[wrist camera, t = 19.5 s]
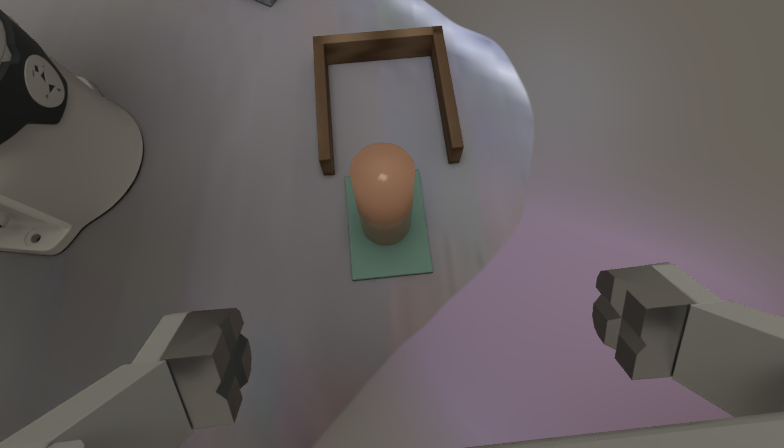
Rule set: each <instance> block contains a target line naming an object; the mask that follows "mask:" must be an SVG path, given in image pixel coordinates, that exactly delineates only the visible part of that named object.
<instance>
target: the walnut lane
mask: <svg viewBox="0 0 784 448" xmlns="http://www.w3.org/2000/svg"><path fill="white" fill-rule="evenodd" d="M313 49H314V69H315V89H316V109H317V129H318V149H319V162H320V164H321V167H322V170H323V173H324V175H333V174H335V172H334V156H333V141H332V125H331V109H330V93H329V77H328V65H329V64H340V63H352V62H363V61H375V60H386V59H398V58H409V57H421V56H431V60H432V66H433V72H434V78H435V84H436V90H437V96H438V102H439V108H440V114H441V120H442V126H443V132H444V138H445V144H446V150H447V156H448V162H449V164H450V163H459V161H460V158H461V154H462V151H463V147H464V146H463V140H462V135H461V129H460V124H459V118H458V113H457V107H456V102H455V96H454V91H453V85H452V80H451V74H450V69H449V63H448V58H447V52H446V47H445V41H444V36H443V30H442V26H433V27H422V28H410V29H398V30H386V31H374V32H363V33H351V34H339V35H327V36H316V37H313Z"/></svg>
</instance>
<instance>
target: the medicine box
mask: <svg viewBox="0 0 784 448" xmlns="http://www.w3.org/2000/svg"><path fill="white" fill-rule="evenodd" d="M257 1H259V2H261V3H263V4H266V5H268V6H271V5H272V4H273V3H274V2H275V0H257Z"/></svg>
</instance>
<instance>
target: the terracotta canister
mask: <svg viewBox="0 0 784 448" xmlns="http://www.w3.org/2000/svg"><path fill="white" fill-rule="evenodd" d="M350 177H351V182H352V186H353V191H354V195H355V199H356V204H357V208H358V213H359V217H360V221H361V226H362V229H363V232H364V234H365V235H366V237H367V238H368V239H369V240H371V241H372V242H374V243H376V244H379V245H393V244H396V243H398V242H400V241H401V240H403V239H404V238H405V237H406V235H407V234H408V232H409V230H410V226H411V216H412V204H413V192H414V180H415V166H414V163H413V160H412V158H411V157H410V155H409V154H408V153H407V152H406V151H405V150H404V149H402V148H401V147H399V146H397V145H394V144H391V143H375V144H372V145H369V146H367V147H365V148H363V149H362V150H361V151H360V152H359V153H358V154H357V155H356V156H355V157H354V159H353V161H352V164H351V167H350Z"/></svg>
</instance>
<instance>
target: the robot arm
mask: <svg viewBox="0 0 784 448" xmlns="http://www.w3.org/2000/svg"><path fill="white" fill-rule="evenodd" d="M142 154H143V142H142V136H141V133H140V130H139V127H138V125H137V123H136V122H135V120H134V119H133V118H132V117H131V115H130V114H129V113H127V112H126V111H125V110H124V109H122V108H121V107H119V106H117V105H116V104H114V103H112V102H110V101H109V100H107V99H106V98H104V97H103V96H101V95H100V93H99V92H98V90H97V89H96V88H95V87H94V85H93V84H91V83H90V82H89V81H88V80H86V79H85V78H83V77H81V76H75V75H74V74H72V73H71V72H70V71H68V70H67V69H66V68H65V67H63V66H62V65H61V64H59V63H58V62H57V61H56V60H54V59H53V58H52V57H50V56H49V55H48V54H47V53H45V52H44V51H43V49H42V48H41V47H40V46H39V45H38V43H36V42H35V41H34V40H33V39H32V38H31V37H30V36H29V35H28V34H27V33H26V32H25V31H24V30H23V29H22V28H21V27H19V24H18V23H17V22H15V21H14V20H13V19H12V18H11V17H9V16H8V15H6V14H5V13H4V12H3V11H1V10H0V251H7V252H18V253H29V254H40V255H55V254H58V253H60V252H61V251H62V250H64V249H65V248H66V247H67V246H68V245H69V244H70V242H71V241H72V240H73V239H74V238H75V236H76V235H77V234H78V233H79V231H80V230H81V229H82V228H83V227H84V226H85V225H87V224H88V223H89V222H91V221H92V220H94V219H95V218H97V217H98V216H100V215H101V214H103V213H104V212H106V211H107V210H108V209H110V208H111V207H112V206H113V205H114V204H115V203H116V202H117V201H118V200H119V199H120V198H121V197H122V196H123V195H124V194H125V192H126V191H127V190H128V188H129V187H130V186H131V184H132V182H133V181H134V179H135V177H136V175H137V172H138V170H139V167H140V164H141V160H142ZM40 237H41V238H40ZM39 238H40V240H39V241H38V242H37V240H38V239H39ZM596 288H597V289H598V291H599V292H600V293H601V295H600V296H599V298H598V299H597V300H596V301H595V302H594V304H593V313H592V317H593V322H594V328H595V330H596V332H597V334H598V336H599V338H600V339H601V340H602V342H603V343H604V344H605V345H607V346H609V347H611V348H613V349H615V350H616V353H615V359H616V360H617V362H618V363H619V364H620V365H621V367H622V368H623V369H624V371H625V372H626V373H627V374H628V376H629V377H630V378H631V380H640V379H652V378H664V377H672V379H673V380H675V381H677V382H678V383H680V384H682V385H683V386H685V387H686V388H688V389H690V390H691V391H693V392H695V393H696V394H698V395H699V396H701V397H703V398H705V399H706V400H708V401H710V402H711V403H713V404H714V405H716V406H718V407H719V408H721V409H722V410H724V411H726V412H727V413H729V414H730V415H732V416H734V417H733V418H725V419H717V420H707V421H698V422H689V423H680V424H671V425H662V426H653V427H644V428H635V429H626V430H617V431H609V432H600V433H591V434H582V435H573V436H565V437H555V438H546V439H537V440H528V441H520V442H512V443H502V444H494V445H485V446H477V447H467V448H784V318H782V317H779V316H776V315H772V314H769V313H766V312H763V311H760V310H757V309H754V308H751V307H748V306H745V305H742V304H739V303H736V302H733V301H722V300H720V299H719V298H718V297H717V296H715V295H714V294H713V293H711V292H710V291H709V290H707V289H706V288H704V287H703V286H702V285H701V284H699V283H698V282H697V281H695V280H694V279H693V278H691V277H690V276H689V275H687V274H686V273H684V272H683V271H682V270H681V269H679V268H678V267H677V266H676V265H674V264H671V263H668V262H665V263H657V264H650V265H644V266H638V267H629V268H621V269H613V270H605V271H600V273H599V275H598V277H597V282H596ZM243 324H244V323H243V320H242V316H241V313H240V311H239V310H238V309H237V308H227V309H215V310H203V311H192V312H180V313H171V314H167V315H165V316H163V318H162V319H161V321H160V322H159V323H158V325H157V326H156V328H155V329H154V331H153V332H152V334H151V335H150V337H149V338H148V340H147V341H146V342H145V344H144V345H143V347H142V348H141V350H140V351H139V353H138V354H137V356H136V357H135V359H134V360H133V361H132V363H131V364H125V365H122V366H120V367H119V368H117V369H116V370H114V371H113V372H111V373H109V374H108V375H106V376H105V377H103V378H101V379H100V380H98V381H97V382H95V383H94V384H92V385H90V386H89V387H87V388H86V389H84V390H83V391H81V392H79V393H78V394H76V395H75V396H73V397H71V398H70V399H68V400H67V401H65V402H64V403H62V404H60V405H59V406H57V407H56V408H54V409H53V410H51V411H49V412H48V413H46V414H45V415H43V416H41V417H40V418H38V419H37V420H35V421H34V422H32V423H30V424H29V425H27V426H26V427H24V428H23V429H21V430H19V431H18V432H16V433H15V434H13V435H12V436H10V437H8V438H7V439H5V440H4V441H2V442H0V448H178V447H179V446H180V445H181V444H182V443H183V442H184V440H185V439H186V438H187V437H188V436H189V435H190V434H191V433H192V430H194V429H201V428H208V427H215V426H222V425H230V424H234V423H235V420H236V417H237V414H238V411H239V408H240V405H241V402H242V395H241V391H240V389H241V388H242V387H243V386H244V385H245V384H246V383H247V382H248V379H249V376H250V372H251V360H252V358H251V349H250V345H249V341H248V339H247V338H245V337H244V336H243V335H242V334H241V333H240V332H241V329H242V327H243Z"/></svg>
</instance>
